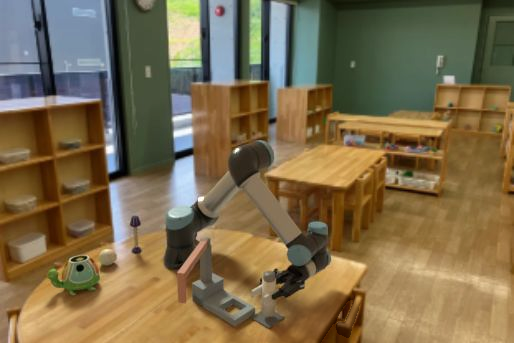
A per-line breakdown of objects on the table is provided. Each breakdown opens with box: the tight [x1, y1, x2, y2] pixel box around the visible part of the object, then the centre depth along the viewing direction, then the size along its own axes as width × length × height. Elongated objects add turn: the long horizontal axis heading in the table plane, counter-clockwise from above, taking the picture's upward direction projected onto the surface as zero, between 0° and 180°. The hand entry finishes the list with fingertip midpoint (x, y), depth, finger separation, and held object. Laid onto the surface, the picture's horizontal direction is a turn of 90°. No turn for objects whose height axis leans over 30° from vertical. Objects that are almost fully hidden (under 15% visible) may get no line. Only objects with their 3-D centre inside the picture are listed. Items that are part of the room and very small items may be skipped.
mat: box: [250, 310, 285, 330], centre depth 143 cm, size 8×8×1 cm
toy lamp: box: [129, 215, 142, 254], centre depth 186 cm, size 5×5×17 cm
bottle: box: [261, 270, 277, 317], centre depth 140 cm, size 5×5×15 cm
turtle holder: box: [46, 254, 101, 296], centre depth 158 cm, size 12×18×12 cm
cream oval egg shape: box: [98, 248, 118, 267], centre depth 176 cm, size 7×7×7 cm
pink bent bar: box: [176, 236, 212, 304], centre depth 139 cm, size 26×4×10 cm, turn 169°
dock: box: [191, 245, 256, 327], centre depth 146 cm, size 22×10×21 cm, turn 48°
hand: (258, 297), depth 136 cm, fingers closed on bottle, 5 cm apart
